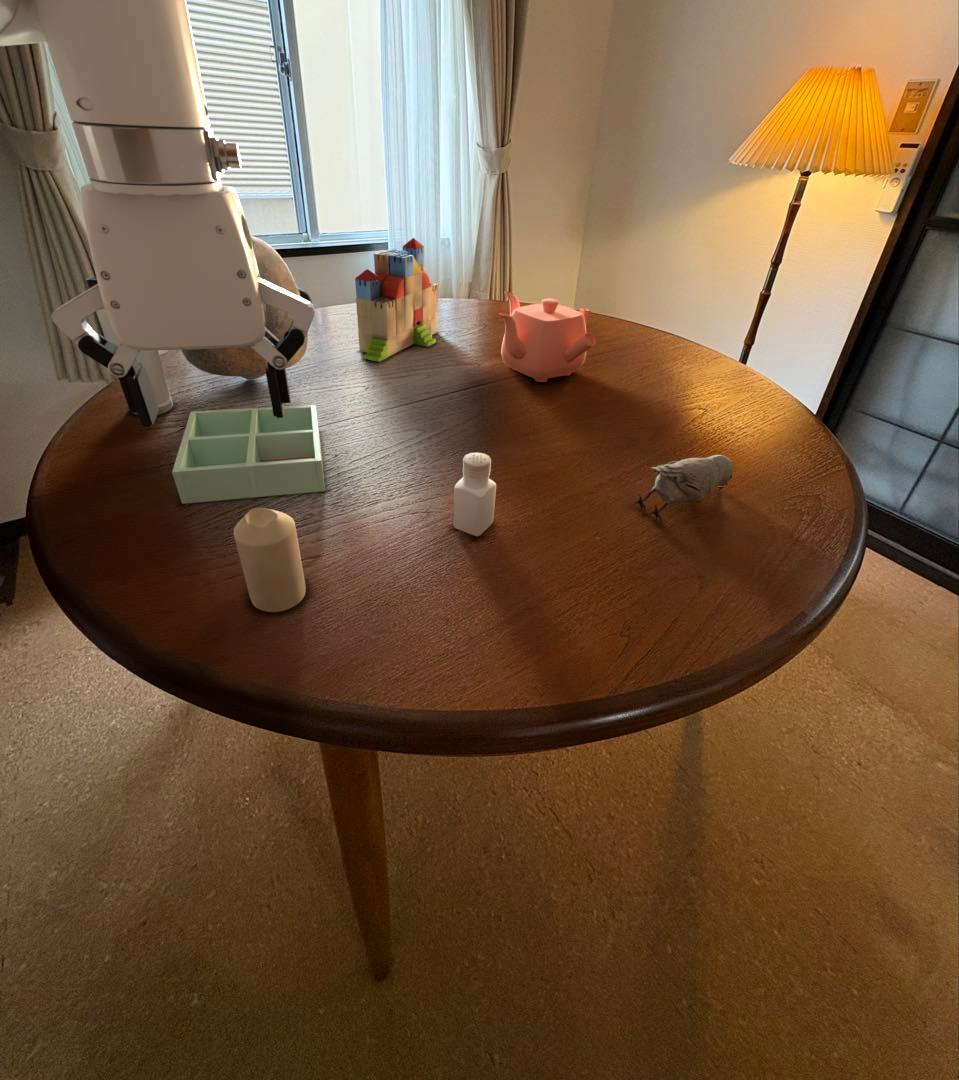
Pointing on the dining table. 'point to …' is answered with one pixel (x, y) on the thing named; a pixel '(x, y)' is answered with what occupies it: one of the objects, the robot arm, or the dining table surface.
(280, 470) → the grid
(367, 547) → the dining table surface
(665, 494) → the decorative bird
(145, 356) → the travel mug
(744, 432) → the dining table surface
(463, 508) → the salt shaker
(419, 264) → the block set
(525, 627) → the dining table surface
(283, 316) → the jug
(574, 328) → the teapot
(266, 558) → the candle
